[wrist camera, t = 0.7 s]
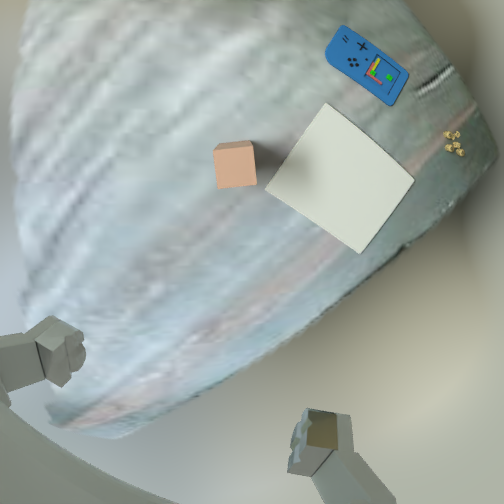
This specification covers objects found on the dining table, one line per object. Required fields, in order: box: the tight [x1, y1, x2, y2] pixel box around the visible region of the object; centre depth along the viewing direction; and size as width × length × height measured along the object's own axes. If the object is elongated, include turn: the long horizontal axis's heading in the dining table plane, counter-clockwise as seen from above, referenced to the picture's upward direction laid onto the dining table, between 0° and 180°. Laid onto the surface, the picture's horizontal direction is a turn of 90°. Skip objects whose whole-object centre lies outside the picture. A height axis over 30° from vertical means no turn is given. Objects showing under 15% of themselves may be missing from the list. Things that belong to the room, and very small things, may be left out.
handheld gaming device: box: [325, 25, 409, 106], centre depth 41 cm, size 8×1×15 cm
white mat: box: [265, 103, 415, 254], centre depth 50 cm, size 18×22×1 cm
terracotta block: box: [213, 140, 257, 189], centre depth 42 cm, size 5×5×12 cm
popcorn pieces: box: [443, 131, 465, 156], centre depth 47 cm, size 5×5×2 cm
